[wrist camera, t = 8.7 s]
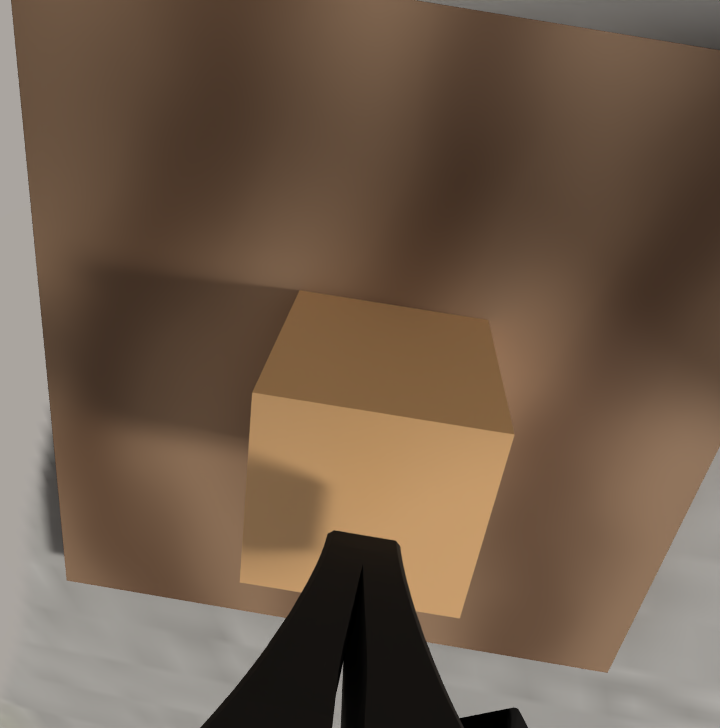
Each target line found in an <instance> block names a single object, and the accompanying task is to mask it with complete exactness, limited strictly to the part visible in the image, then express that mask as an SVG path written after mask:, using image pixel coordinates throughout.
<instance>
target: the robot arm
mask: <svg viewBox="0 0 720 728" xmlns="http://www.w3.org/2000/svg"><path fill="white" fill-rule="evenodd" d="M342 665H343V684H342V710H341V728H464V727H463V725H462V723H461V721H460V719H459V717H458V715H457V713H456V711H455V709H454V706H453V704H452V702H451V700H450V698H449V696H448V693H447V691H446V689H445V687H444V684H443V682H442V680H441V677H440V675H439V673H438V670H437V668H436V665H435V663H434V660H433V658H432V655H431V653H430V650H429V648H428V645H427V642H426V640H425V637H424V634H423V631H422V628H421V625H420V622H419V619H418V616H417V613H416V610H415V607H414V604H413V601H412V597H411V594H410V590H409V586H408V583H407V579H406V575H405V570H404V566H403V560H402V555H401V547H400V545H399V544H398V543H397V541H395V540H389V539H383V538H377V537H372V536H366V535H360V534H354V533H348V532H342V531H336V530H333V531H332V532H330V533H328V534H327V537H326V541H325V544H324V547H323V550H322V552H321V555H320V557H319V559H318V562H317V564H316V566H315V568H314V570H313V572H312V574H311V576H310V578H309V580H308V582H307V584H306V585H305V587H304V589H303V591H302V592H301V594H300V596H299V597H298V599H297V601H296V603H295V604H294V606H293V608H292V609H291V611H290V613H289V614H288V616H287V617H286V619H285V620H284V622H283V623H282V625H281V626H280V628H279V629H278V631H277V632H276V634H275V635H274V637H273V638H272V640H271V641H270V643H269V644H268V646H267V647H266V648H265V650H264V651H263V653H262V654H261V655H260V657H259V658H258V659H257V661H256V662H255V663H254V665H253V666H252V667H251V669H250V670H249V671H248V672H247V674H246V675H245V676H244V677H243V679H242V680H241V681H240V682H239V684H238V685H237V686H236V687H235V689H234V690H233V691H232V692H231V693H230V695H229V696H228V697H227V698H226V699H225V700H224V702H223V703H222V704H221V705H220V706H219V707H218V708H217V710H216V711H215V712H214V713H213V714H212V715H211V716H210V718H209V719H208V720H207V721H206V722H205V723H204V724H203V725H202V726H201V728H332V724H333V714H334V706H335V697H336V692H337V687H338V683H339V678H340V674H341V669H342Z"/></svg>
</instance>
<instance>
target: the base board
mask: <svg viewBox="0 0 720 728" xmlns="http://www.w3.org/2000/svg"><path fill="white" fill-rule="evenodd" d="M11 4H12V15H13V25H14V35H15V46H16V56H17V67H18V77H19V87H20V97H21V108H22V118H23V129H24V139H25V150H26V161H27V171H28V181H29V191H30V202H31V213H32V223H33V233H34V244H35V254H36V264H37V275H38V285H39V296H40V305H41V316H42V327H43V338H44V348H45V358H46V369H47V379H48V390H49V400H50V411H51V421H52V431H53V442H54V452H55V463H56V473H57V483H58V494H59V504H60V515H61V525H62V536H63V546H64V556H65V567H66V577H67V580H68V581H74V582H79V583H85V584H91V585H97V586H103V587H109V588H115V589H120V590H126V591H132V592H138V593H144V594H150V595H155V596H161V597H167V598H173V599H179V600H185V601H191V602H196V603H202V604H208V605H214V606H220V607H226V608H232V609H237V610H243V611H249V612H255V613H261V614H267V615H272V616H278V617H284V618H286V617H287V616H288V614H289V613H290V611H291V609H292V608H293V606H294V604H295V603H296V601H297V599H298V597H299V596H300V594H301V592H295V591H289V590H283V589H277V588H271V587H265V586H258V585H252V584H246V583H240V569H241V554H242V539H243V524H244V508H245V493H246V478H247V463H248V448H249V433H250V418H251V402H252V392H253V390H254V387H255V385H256V383H257V381H258V379H259V377H260V375H261V372H262V370H263V368H264V366H265V364H266V362H267V359H268V357H269V355H270V353H271V351H272V349H273V346H274V344H275V342H276V340H277V338H278V336H279V334H280V331H281V329H282V327H283V325H284V323H285V321H286V318H287V316H288V314H289V312H290V310H291V308H292V306H293V303H294V301H295V299H296V297H297V295H298V293H299V290H302V291H308V292H314V293H321V294H327V295H333V296H340V297H346V298H352V299H359V300H365V301H371V302H377V303H384V304H390V305H396V306H403V307H409V308H415V309H422V310H428V311H434V312H440V313H447V314H453V315H459V316H466V317H472V318H478V319H485V320H488V321H489V325H490V330H491V334H492V338H493V343H494V347H495V351H496V356H497V360H498V364H499V369H500V373H501V377H502V382H503V386H504V391H505V395H506V399H507V404H508V408H509V412H510V417H511V421H512V425H513V430H514V434H515V435H514V438H513V442H512V445H511V449H510V452H509V455H508V459H507V462H506V465H505V469H504V472H503V475H502V479H501V482H500V485H499V489H498V492H497V495H496V499H495V502H494V505H493V509H492V512H491V515H490V519H489V522H488V526H487V529H486V532H485V536H484V539H483V542H482V546H481V549H480V552H479V556H478V559H477V562H476V566H475V569H474V572H473V576H472V579H471V582H470V586H469V589H468V592H467V596H466V599H465V603H464V606H463V609H462V613H461V616H460V618H454V617H447V616H441V615H435V614H429V613H423V612H417V611H416V613H417V616H418V619H419V622H420V625H421V628H422V631H423V634H424V637H425V640H426V642H430V643H436V644H442V645H448V646H454V647H460V648H465V649H471V650H477V651H483V652H489V653H495V654H501V655H506V656H512V657H518V658H524V659H530V660H536V661H542V662H547V663H553V664H559V665H565V666H571V667H577V668H582V669H588V670H594V671H600V672H606V673H608V671H609V669H610V667H611V665H612V663H613V661H614V659H615V657H616V655H617V652H618V650H619V648H620V646H621V644H622V642H623V640H624V638H625V636H626V634H627V632H628V630H629V628H630V626H631V624H632V622H633V620H634V618H635V616H636V614H637V612H638V610H639V608H640V606H641V604H642V602H643V600H644V598H645V596H646V594H647V592H648V590H649V588H650V586H651V584H652V582H653V580H654V578H655V576H656V574H657V572H658V570H659V568H660V566H661V564H662V562H663V560H664V558H665V556H666V554H667V552H668V550H669V548H670V546H671V543H672V541H673V539H674V537H675V535H676V533H677V531H678V529H679V527H680V525H681V523H682V521H683V519H684V517H685V515H686V513H687V511H688V509H689V507H690V505H691V503H692V501H693V499H694V497H695V495H696V493H697V491H698V489H699V487H700V485H701V483H702V481H703V479H704V477H705V475H706V473H707V471H708V469H709V467H710V465H711V463H712V461H713V459H714V457H715V455H716V453H717V451H718V449H719V447H720V50H716V49H710V48H703V47H697V46H691V45H685V44H679V43H673V42H667V41H661V40H655V39H648V38H642V37H636V36H630V35H624V34H618V33H612V32H606V31H600V30H593V29H587V28H581V27H575V26H569V25H563V24H557V23H551V22H545V21H538V20H532V19H526V18H520V17H514V16H508V15H502V14H496V13H490V12H483V11H477V10H471V9H465V8H459V7H453V6H447V5H441V4H435V3H428V2H422V1H416V0H11Z"/></svg>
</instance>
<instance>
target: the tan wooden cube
mask: <svg viewBox="0 0 720 728" xmlns="http://www.w3.org/2000/svg"><path fill="white" fill-rule="evenodd" d="M514 435H515V434H514V430H513V425H512V421H511V417H510V412H509V408H508V404H507V399H506V395H505V391H504V386H503V382H502V377H501V373H500V369H499V364H498V360H497V356H496V351H495V347H494V343H493V338H492V334H491V330H490V325H489V321H488V320H485V319H478V318H472V317H466V316H459V315H453V314H447V313H440V312H434V311H428V310H422V309H415V308H409V307H403V306H396V305H390V304H384V303H377V302H371V301H365V300H359V299H352V298H346V297H340V296H333V295H327V294H321V293H314V292H308V291H302V290H299V293H298V295H297V297H296V299H295V301H294V303H293V306H292V308H291V310H290V312H289V314H288V316H287V318H286V321H285V323H284V325H283V327H282V329H281V331H280V334H279V336H278V338H277V340H276V342H275V344H274V346H273V349H272V351H271V353H270V355H269V357H268V359H267V362H266V364H265V366H264V368H263V370H262V372H261V375H260V377H259V379H258V381H257V383H256V385H255V387H254V390H253V392H252V402H251V418H250V433H249V448H248V463H247V478H246V493H245V508H244V524H243V539H242V554H241V569H240V583H246V584H252V585H258V586H265V587H271V588H277V589H283V590H289V591H295V592H302V591H303V589H304V587H305V585H306V584H307V582H308V580H309V578H310V576H311V574H312V572H313V570H314V568H315V566H316V564H317V562H318V559H319V557H320V555H321V552H322V550H323V547H324V544H325V541H326V537H327V534H328V533H330V532H332V531H333V530H336V531H342V532H348V533H354V534H360V535H366V536H372V537H377V538H383V539H389V540H395V541H397V543H398V544H399V545H400V547H401V555H402V560H403V566H404V570H405V575H406V579H407V583H408V586H409V590H410V594H411V597H412V601H413V604H414V607H415V610H416V611H417V612H423V613H429V614H435V615H441V616H447V617H454V618H460V616H461V613H462V609H463V606H464V603H465V599H466V596H467V592H468V589H469V586H470V582H471V579H472V576H473V572H474V569H475V566H476V562H477V559H478V556H479V552H480V549H481V546H482V542H483V539H484V536H485V532H486V529H487V526H488V522H489V519H490V515H491V512H492V509H493V505H494V502H495V499H496V495H497V492H498V489H499V485H500V482H501V479H502V475H503V472H504V469H505V465H506V462H507V459H508V455H509V452H510V449H511V445H512V442H513V438H514Z"/></svg>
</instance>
